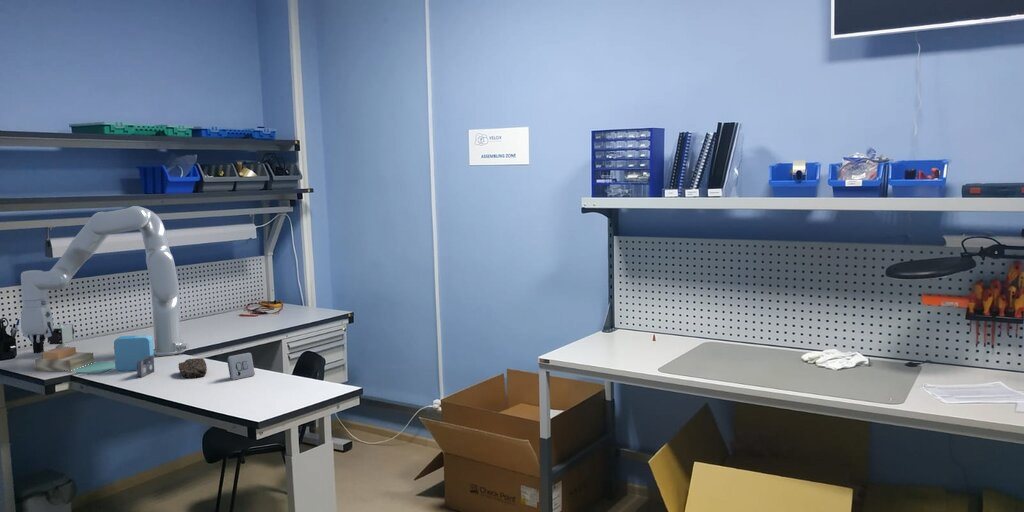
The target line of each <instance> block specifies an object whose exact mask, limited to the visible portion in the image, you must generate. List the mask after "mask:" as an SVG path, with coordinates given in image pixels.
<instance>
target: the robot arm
mask: <svg viewBox="0 0 1024 512" xmlns="http://www.w3.org/2000/svg"><path fill="white" fill-rule="evenodd" d="M135 230H139V231H140V232H141V237H142V240H143V245H144V251H145V263H146V267H147V271H148V276H149V277H148V278H149V282H150V291H151V292H150V293H151V304H152V306H151V307H152V324H153V325H152V326H153V347H154V348H153V352H154V357H155V356H157V357H160V356H161V357H162V356H163V357H164V356H165V357H166V356H175V355H179V354H182V353H185V352H186V350H189V347H190V343H184V340H183V339H181V325H180V324H181V323H180V305H179V304H180V303H179V301H180V300H179V290H180V286H179V280H178V275H177V270H176V269H177V268H176V264H175V259H174V256H173V254H172V252H171V248H170V246H169V241H168V236H167V232H166V228H165V225H164V223H163V221H162V219H161V218H160V217H159V216H158V215H157V214H156V213H155V212H154V211H153V210H151V209H148V208H146V207H142V206H141V205H140V206H139V205H132V206H130V207H127V208H122V209H117V210H116V209H115V210H110V211H98V212H96V213H94V214H92V216H91V217H90V218H89V220H88V221H87V222H86V223H85V225H84V226H83V227H82V228H81V230H80V231H79V232H78V233H77V234H76V236H75V237H74V238H73V239H72V240H71V242H70V243H69V245H68V247H67V249H66V250H65V251H64V253H62V255H61V257H60V258H59V259H58V261H57V262H56V263H55V264H54V265H53V266H52V268H51V269H50V270H48V271H46V270H45V271H43V270H41V269H40V270H39V269H38V270H37V269H35V270H34V269H32V270H31V269H30V270H25V271H22V272H21V274H20V285H21V286H20V287H21V298H22V299H21V300H22V308H21V313H20V328H21V329H20V330H21V333H22V336H23V337H24V338H26V339H27V338H28V339H29V340H30V343H32V352H33V354H41V353H43V352H45V350H44V349H45V348H44V342H45V341H46V339H47V337H51V336H52V335H51V332H53V331H54V327H55V325H54V319H53V313H52V310H51V307H50V306H48V305H49V304H50V301H49V300H48V298H47V290H53V291H57V290H58V291H59V290H63V289H65V288H66V287H67V286H68V285H69V283H70V281H71V279H73V277H74V276H75V275H76V273H77V272H78V270H80V269H81V267H82V266H83V265H84V264H85V263H86V261H87V260H89V259H91V257H92V256H93V255H94V254H95V253H96V251H97V250H98V249H99V248H100V246H101V245H102V244H103V242H104V241H105V240H106V239H107V238H108V237H109V235H114V234H119V233H125V232H130V231H135Z"/></svg>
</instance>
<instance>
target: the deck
mask: <svg viewBox="0 0 1024 512" xmlns="http://www.w3.org/2000/svg"><path fill="white" fill-rule="evenodd" d="M94 357H95V356H94V352H81V351H76V353H75V354H72V355H69V356H66V357H63V358H60V359H43V356H42V357H38V358H35V359H34V362H35V363H34V364H35V365H34V366H35V371H45V370H48V371H49V372H50V371H52V372H70V371H71V370H74V369H77V368H80V367H82V366H85V365H88V364H91V363H95V361H94V360H95V359H94ZM61 370H62V371H61ZM64 370H65V371H64ZM67 370H69V371H67Z"/></svg>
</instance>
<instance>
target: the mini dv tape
mask: <svg viewBox="0 0 1024 512" xmlns="http://www.w3.org/2000/svg"><path fill="white" fill-rule="evenodd" d="M153 373H155V355H154V356H149V357H146V358H144V359H142V360H140V361H137V370H136V376H137V379H142V378H145V377H147V376H149V375H150V374H153Z"/></svg>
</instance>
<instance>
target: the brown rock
mask: <svg viewBox="0 0 1024 512" xmlns="http://www.w3.org/2000/svg"><path fill="white" fill-rule="evenodd" d="M178 370H179V373H180V375H181V376H183V378H185V377H187V378H188V379H192V378H193V379H194V378H195V379H197V378H201V377H205V376H206V375H207V373H208V372H207V371H208V368H207V363H206V360H205V359H204V358H203V357H200V358H199V357H196V358H189V359H185V360H184V361H183V362H179V363H178Z"/></svg>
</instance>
